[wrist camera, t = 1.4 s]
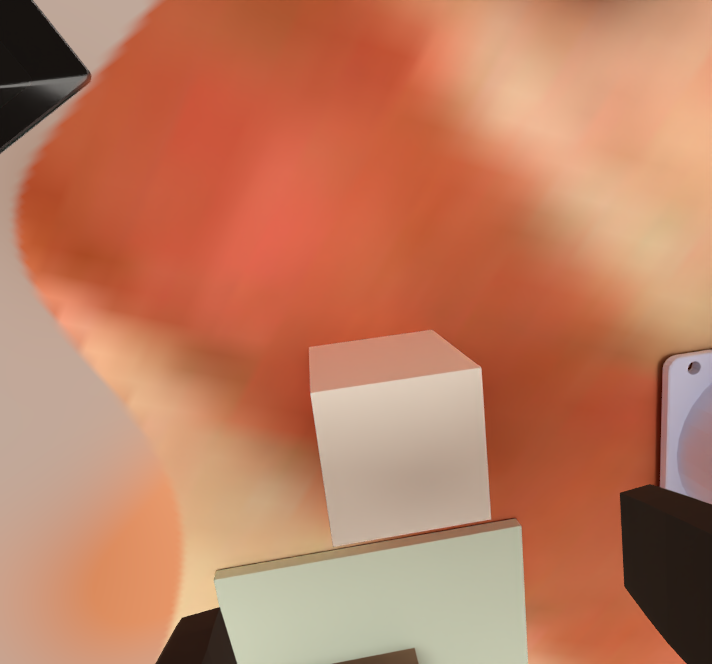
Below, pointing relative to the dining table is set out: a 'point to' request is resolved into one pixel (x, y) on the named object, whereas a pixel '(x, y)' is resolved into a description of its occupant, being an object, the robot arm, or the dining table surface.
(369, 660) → the walnut base
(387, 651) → the board
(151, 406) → the dining table surface
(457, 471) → the peach block
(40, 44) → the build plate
